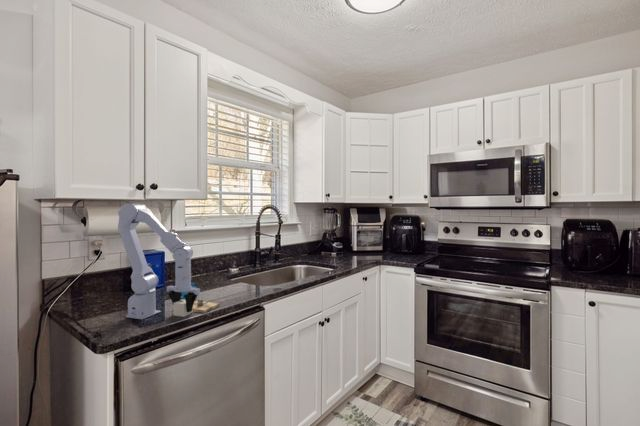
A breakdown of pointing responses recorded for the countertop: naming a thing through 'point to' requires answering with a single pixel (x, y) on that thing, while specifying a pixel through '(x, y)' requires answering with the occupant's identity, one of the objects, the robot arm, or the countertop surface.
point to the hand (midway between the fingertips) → (183, 310)
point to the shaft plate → (204, 306)
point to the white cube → (181, 308)
